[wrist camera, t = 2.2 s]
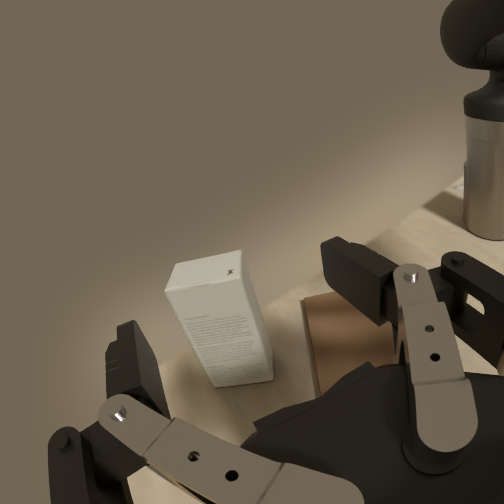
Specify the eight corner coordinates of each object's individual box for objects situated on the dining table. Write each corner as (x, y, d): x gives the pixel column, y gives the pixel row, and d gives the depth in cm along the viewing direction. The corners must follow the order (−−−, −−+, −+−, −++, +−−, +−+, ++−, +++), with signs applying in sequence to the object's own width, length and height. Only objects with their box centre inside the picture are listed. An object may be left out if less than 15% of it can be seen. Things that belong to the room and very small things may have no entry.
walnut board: (305, 306, 36) (303, 298, 35) (402, 284, 34) (402, 276, 34) (329, 449, 20) (328, 443, 20) (468, 407, 19) (472, 400, 18)
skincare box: (273, 349, 31) (244, 247, 26) (274, 381, 28) (242, 277, 22) (215, 357, 32) (174, 262, 26) (212, 389, 28) (162, 291, 23)
